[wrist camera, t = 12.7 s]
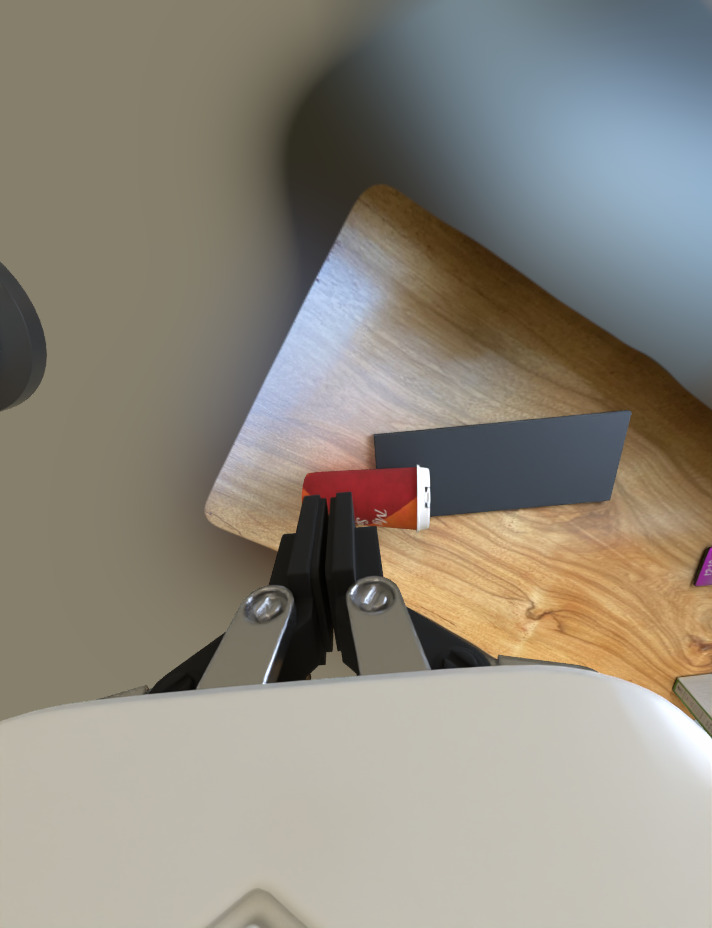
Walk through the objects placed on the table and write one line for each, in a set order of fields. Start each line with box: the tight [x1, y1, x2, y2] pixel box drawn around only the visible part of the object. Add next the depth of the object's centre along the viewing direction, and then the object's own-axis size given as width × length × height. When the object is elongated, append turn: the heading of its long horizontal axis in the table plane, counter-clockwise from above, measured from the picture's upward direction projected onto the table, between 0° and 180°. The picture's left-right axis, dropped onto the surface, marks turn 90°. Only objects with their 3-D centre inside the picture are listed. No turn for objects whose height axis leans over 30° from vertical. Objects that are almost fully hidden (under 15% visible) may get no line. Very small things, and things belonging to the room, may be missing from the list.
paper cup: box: [302, 465, 430, 532], centre depth 41 cm, size 8×8×14 cm
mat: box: [374, 410, 631, 517], centre depth 44 cm, size 30×12×1 cm, turn 95°
